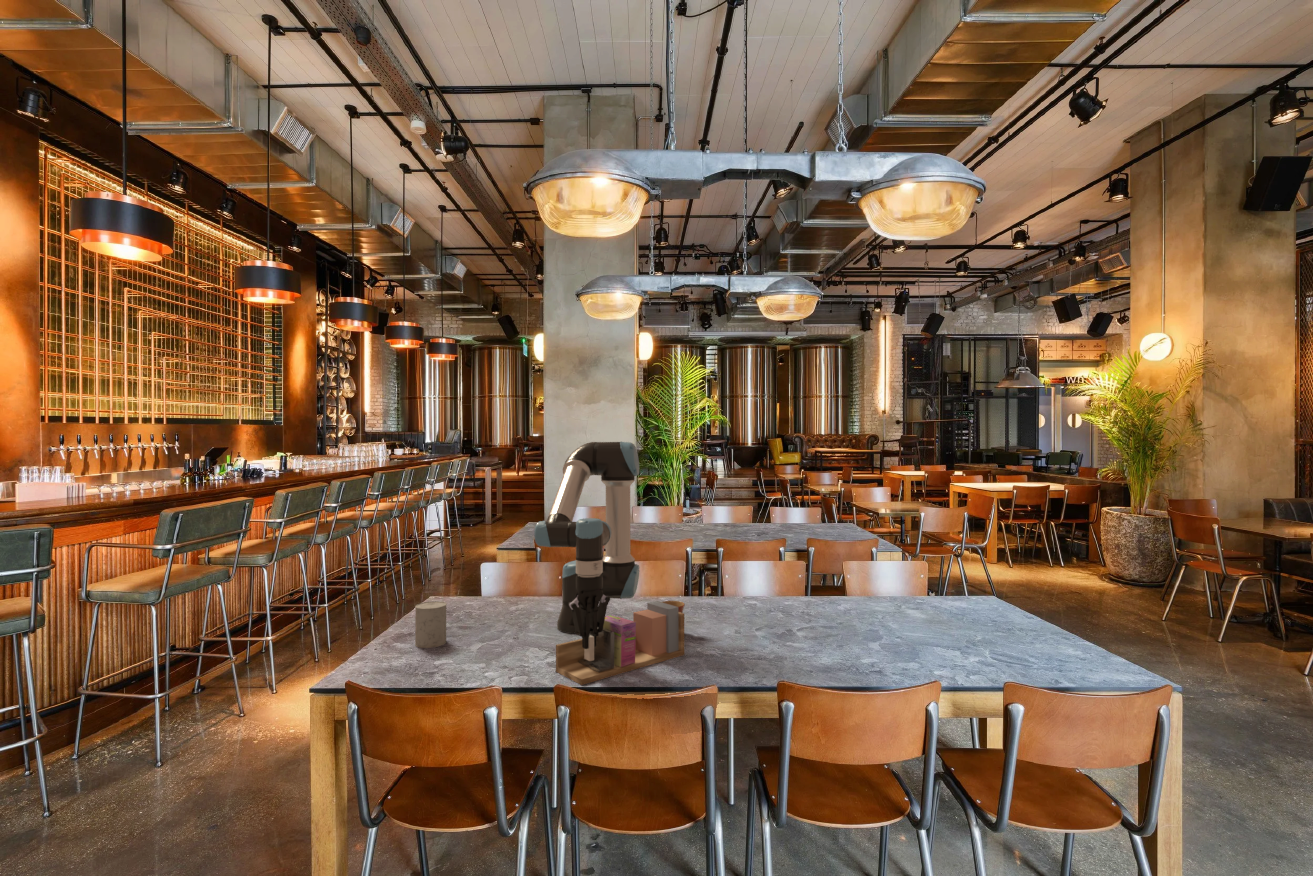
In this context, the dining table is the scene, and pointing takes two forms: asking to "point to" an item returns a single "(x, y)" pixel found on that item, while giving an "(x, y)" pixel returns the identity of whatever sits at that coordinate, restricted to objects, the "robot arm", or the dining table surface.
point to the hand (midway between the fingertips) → (589, 659)
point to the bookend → (602, 652)
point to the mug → (677, 604)
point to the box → (622, 639)
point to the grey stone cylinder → (430, 624)
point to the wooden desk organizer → (581, 674)
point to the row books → (657, 629)
